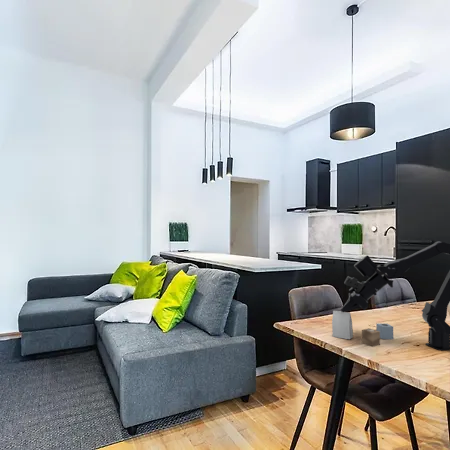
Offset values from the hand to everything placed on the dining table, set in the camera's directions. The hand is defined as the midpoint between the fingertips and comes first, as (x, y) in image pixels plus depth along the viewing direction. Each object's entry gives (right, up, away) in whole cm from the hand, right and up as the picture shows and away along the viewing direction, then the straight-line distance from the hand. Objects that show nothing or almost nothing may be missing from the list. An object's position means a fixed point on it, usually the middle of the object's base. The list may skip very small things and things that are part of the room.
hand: (341, 310), depth 131 cm
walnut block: (+8, -10, -8) cm, 15 cm away
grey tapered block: (0, -11, 0) cm, 10 cm away
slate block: (+18, -11, 0) cm, 21 cm away
